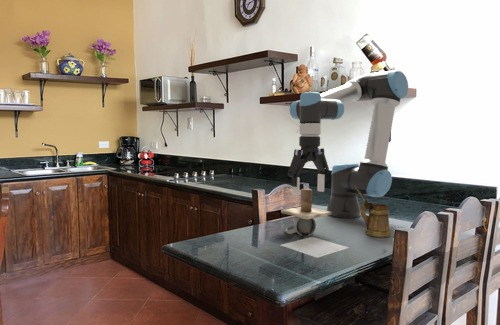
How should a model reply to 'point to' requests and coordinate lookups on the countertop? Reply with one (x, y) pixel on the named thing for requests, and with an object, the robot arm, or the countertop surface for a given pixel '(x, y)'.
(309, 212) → the lid
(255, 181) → the countertop surface
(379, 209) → the wooden mug
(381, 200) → the countertop surface
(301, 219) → the ceramic mug
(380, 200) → the countertop surface
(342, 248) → the mat
